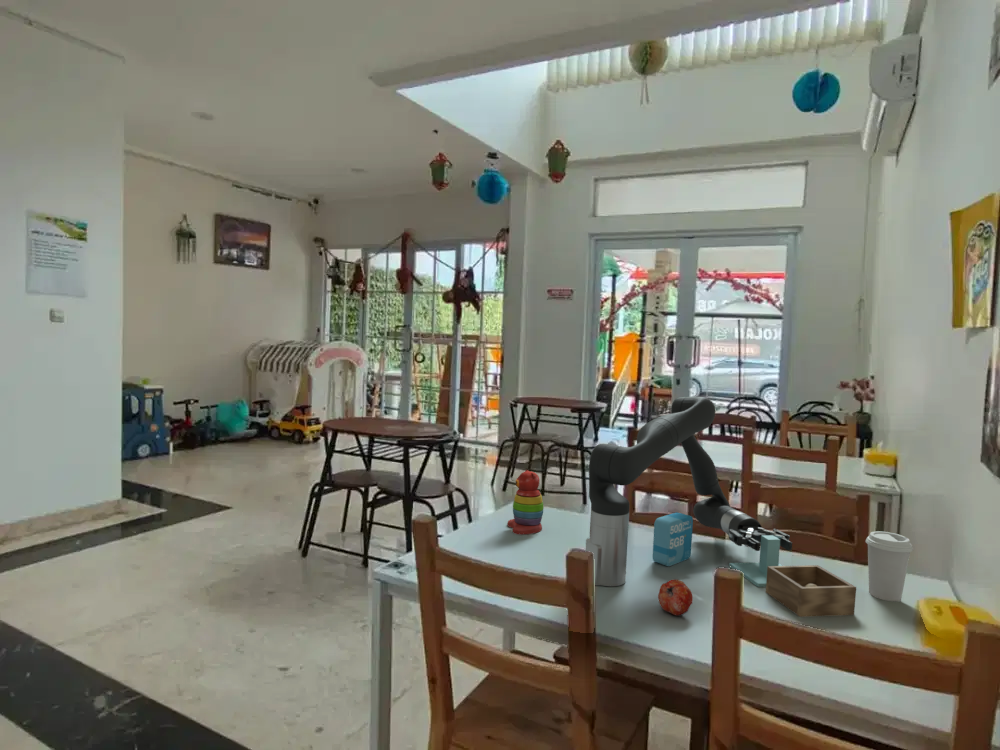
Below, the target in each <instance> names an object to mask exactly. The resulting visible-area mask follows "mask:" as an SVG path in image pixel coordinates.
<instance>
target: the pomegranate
mask: <svg viewBox="0 0 1000 750" xmlns="http://www.w3.org/2000/svg"><path fill="white" fill-rule="evenodd" d="M658 591H659V592H658V594H657V598H658V603H659V605H660V607H661V609H662V610H663V611H665V612H667V613H670V614H671V615H674V616H676V617H680V616H682V615H684V614H686V613H688V611H689V609H690V607H691V605H693V601H694V600H693V599H694V597H693V593H692V591H691V589H690V588H689V587H688V586H687V585H686V584H685V582H684V581H683V580H680V579H679V578H678V579H670V580H669V581H667V582H664V583H662V584H661V586H660V588H659V590H658Z"/></svg>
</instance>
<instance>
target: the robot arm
mask: <svg viewBox="0 0 1000 750" xmlns="http://www.w3.org/2000/svg"><path fill="white" fill-rule="evenodd" d="M715 417H716V407H715V405H714V402H713V401H712V400H710V399H709V398H707V397H704V396H682V397H677V398H675V399H674V400H673V401H672V403H671V408H670V413H668V414H665V415H661V416H658V417H656V418H654V419H652V420H650V421H649V422H647V423H646V424H644V425H643V426H641V427H640V429H639V430H638V432H637V435H636V444H634V445H632V446H619V445H614V444H609V443H599V444H597V445H596V446H594V448H593V450H592V451H591V454H590V456H589V457H590V458H589V464H588V494H589V495H588V496H589V498H588V499H589V500H590V521H589V537H588V538H586V540H585V552H586V551H590V552H593V553H594V559H595V585H594V586H604V587H618V586H622V585H624V584H625V583H626V580H627V579H626V578H627V562H628V561H627V560H628V559H627V558H628V541H629V521H630V500H628V498H626V497H625V496H623V494H621V493H620V492H619V491H618V490H617V489H616V488H615V486H614V485H616V486H628V485H631V483H634V481H636V480H637V479H638V478H639V477H640V476H641V475H642V474H643V473H644V472H645V471H646V470H647V469H648V468H649V467H650V466H651V465H652V464H654V463H655V462H657V461H658V460H659V459H660V458H661V457H664V455H666V454H668V453H669V452H671V451H672V450H674V449H675V447H677V446H678V445H681V446H682V449H683V451H684V453H685V457H686V458H687V461H688V464H689V468H690V472H691V477H692V482H693V485H694V489H695V492H696V493H697V494H699V495H700V496H711V497H707V498H705V499H703V500H700V501H697V502H696V503H695V504H694V506H693V510H692V512H693V514H694V517H695V519H696V521H697V522H698V523H700V524H701V525H702V526H705V527H707V528H713V529H720V530H721V531H723V532H724V533H726V535H727V536H728V540H729V541H731V542H732V543H733V544H735V545H736V546H738V547H742V546H743V545H744V546H745V547H747V548H749V547H750V548H751V549H752V550H754V551H756V552H760V546H761V535H773V536H775V537H777V538H778V539H780V548H783V549H785V550H786V551H792V549H793V542H792V541H790V535H789V534H787V533H785V532H783V531H781V530H779V529H776V528H773V529H772V530H768V529H765V528H763V526H762V525H761V522H760V521H759V520H757V519H756V518H754V517H752V516H750V515H748V514H747V513H744V512H743V511H740V510H737V509H735V508H733V507H732V506H731V505H730V502H729V501H728V499H727V497H726V496H725V494H724V492H723V490H722V488H721V486H720V482H719V478H718V477H719V476H718V473H717V469H716V465H715V463H714V461H713V459H712V458H711V456H710V455H709V454H708V452H707V451H706V450H705V448H704V447H702V445H701V444H700V442H699V441H698V440H697V438H696V436H695V434H697V433H700V432H701V431H704V430H706V429H708V428H709V427H710V426H711V424H712V423H713V422H714V420H715Z"/></svg>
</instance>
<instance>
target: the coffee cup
mask: <svg viewBox="0 0 1000 750" xmlns="http://www.w3.org/2000/svg"><path fill="white" fill-rule="evenodd" d="M865 543H866V544H867V557H868V558H867V559H868V560H867V562H868V563H867V565H868V567H867V568H868V569H867V570H868V594H869V595H871V596H872V597H874V598H876V599H880V600H883V601H888V602H899V603H900V602H902V598H903V592H904V586H905V580H906V576H907V570H908V565H909V560H910V556H911V552H913V551H914V548H913V544H912V543H911V540H910V538H908V537H907V536H904V535H902V534H898V533H894V532H889V531H881V530H880V531H879V530H877V531H871V532H870V533H869V535H868V536H867V537H866V539H865Z"/></svg>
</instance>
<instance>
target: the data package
mask: <svg viewBox="0 0 1000 750" xmlns="http://www.w3.org/2000/svg"><path fill="white" fill-rule="evenodd" d="M653 524H654V525H653V541H652V544H653V545H652V561H653V562H654V563H657V564H660V565H663V566H665V567H671V566H674V565H676V564H678V563H679V564H680V563H681V562H684V561H686V560H689V559H690V557H691V554H692V545H693V541H692V540H693V524H694V519H693V516H691V515H689V514H685V513H681V512H672V513H670V514H666V515H664V516H663V515H662V516H660V517H657V518H656V519H655V521H654V523H653Z"/></svg>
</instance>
